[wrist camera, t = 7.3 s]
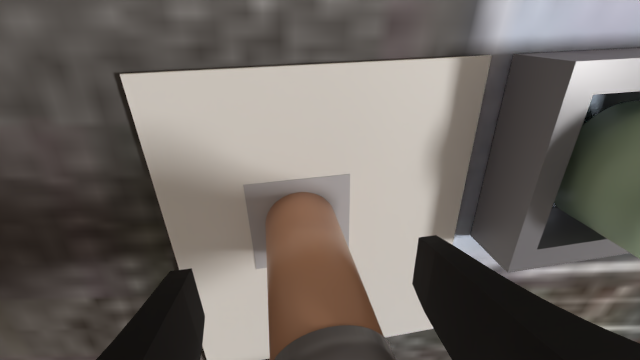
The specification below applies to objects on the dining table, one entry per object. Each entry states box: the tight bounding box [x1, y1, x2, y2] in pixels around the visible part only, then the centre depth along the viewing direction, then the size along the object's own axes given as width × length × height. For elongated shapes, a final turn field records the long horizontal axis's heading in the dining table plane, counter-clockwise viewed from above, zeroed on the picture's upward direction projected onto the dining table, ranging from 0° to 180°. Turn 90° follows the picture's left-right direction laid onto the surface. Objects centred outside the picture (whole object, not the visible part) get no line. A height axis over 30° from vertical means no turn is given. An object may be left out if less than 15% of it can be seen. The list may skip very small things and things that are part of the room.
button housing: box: [471, 48, 640, 273], centre depth 12 cm, size 8×8×2 cm
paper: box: [120, 55, 492, 360], centre depth 13 cm, size 14×12×1 cm
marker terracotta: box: [265, 192, 396, 360], centre depth 9 cm, size 3×3×7 cm
